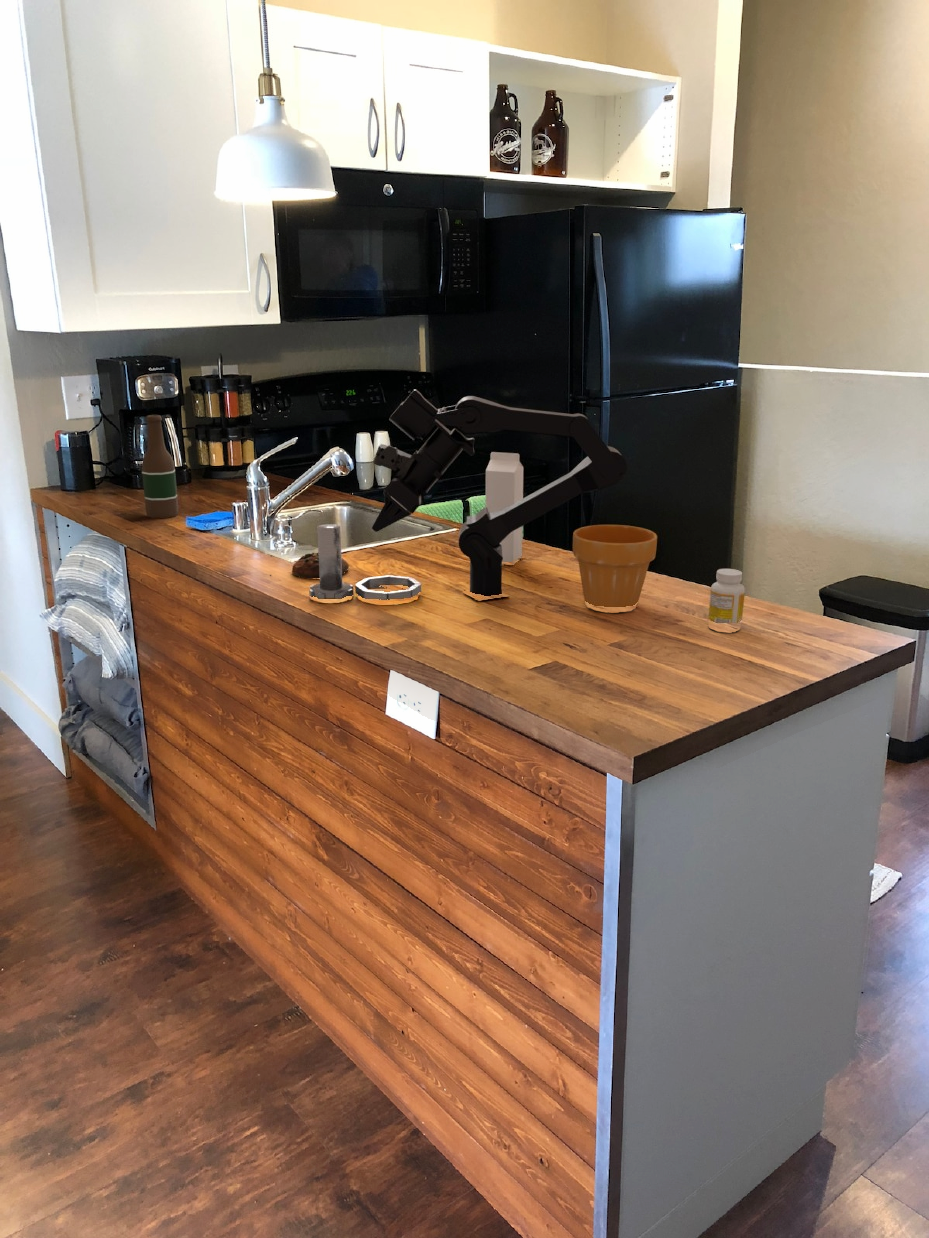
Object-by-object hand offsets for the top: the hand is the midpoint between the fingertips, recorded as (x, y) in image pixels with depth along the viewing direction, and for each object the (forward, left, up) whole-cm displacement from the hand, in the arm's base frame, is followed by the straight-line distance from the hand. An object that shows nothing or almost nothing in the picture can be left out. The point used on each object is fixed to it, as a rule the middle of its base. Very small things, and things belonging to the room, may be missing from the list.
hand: (377, 525), depth 178 cm
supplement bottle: (-41, -44, -13) cm, 62 cm away
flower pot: (-23, -34, -13) cm, 43 cm away
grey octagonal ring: (-1, -1, -13) cm, 13 cm away
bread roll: (+20, +5, -13) cm, 24 cm away
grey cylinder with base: (+2, +8, -13) cm, 15 cm away
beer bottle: (+86, +24, -13) cm, 90 cm away
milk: (+12, -31, -13) cm, 36 cm away
